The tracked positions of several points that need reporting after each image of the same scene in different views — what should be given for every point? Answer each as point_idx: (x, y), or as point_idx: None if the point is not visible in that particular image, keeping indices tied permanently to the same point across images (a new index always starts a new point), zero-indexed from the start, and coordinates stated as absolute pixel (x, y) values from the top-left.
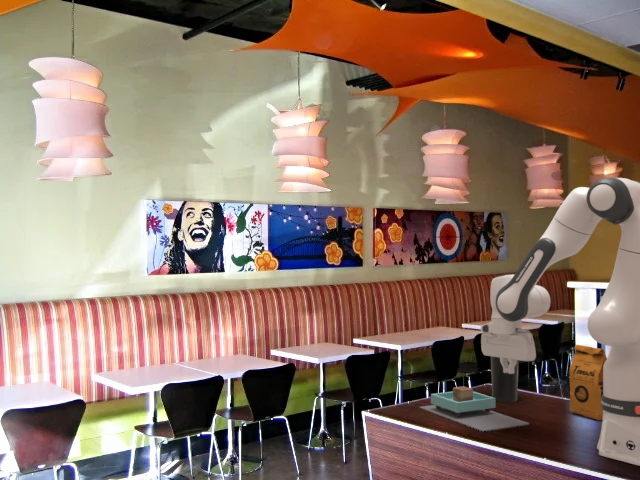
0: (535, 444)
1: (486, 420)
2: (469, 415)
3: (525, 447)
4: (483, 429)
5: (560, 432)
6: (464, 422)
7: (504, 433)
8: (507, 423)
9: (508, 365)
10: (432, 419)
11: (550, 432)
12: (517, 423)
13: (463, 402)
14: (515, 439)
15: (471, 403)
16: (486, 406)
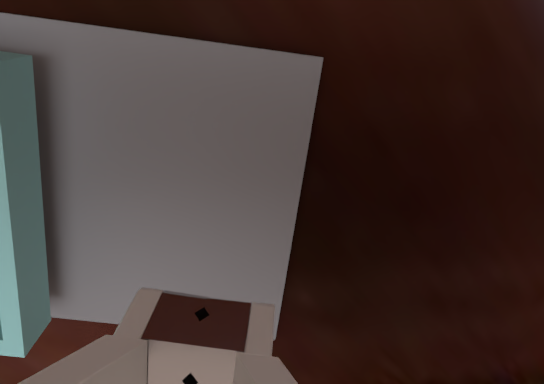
0: (529, 298)
1: (150, 207)
2: None
3: (518, 352)
4: None
5: (528, 44)
6: None
7: (345, 281)
8: (254, 165)
9: (130, 353)
10: (2, 361)
11: (487, 92)
12: (285, 120)
13: (22, 322)
14: (431, 308)
15: (23, 262)
16: (30, 136)
